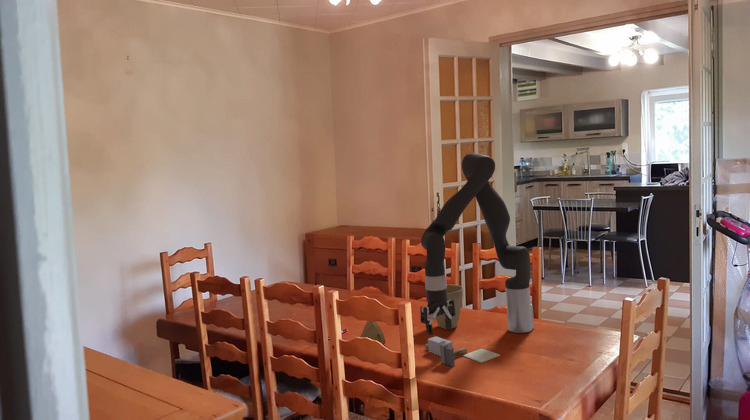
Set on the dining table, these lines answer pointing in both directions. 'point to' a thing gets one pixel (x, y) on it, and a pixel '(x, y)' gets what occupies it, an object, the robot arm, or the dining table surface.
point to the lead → (437, 344)
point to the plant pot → (454, 294)
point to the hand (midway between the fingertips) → (439, 331)
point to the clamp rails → (456, 353)
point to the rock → (373, 332)
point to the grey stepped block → (447, 354)
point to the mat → (481, 355)
